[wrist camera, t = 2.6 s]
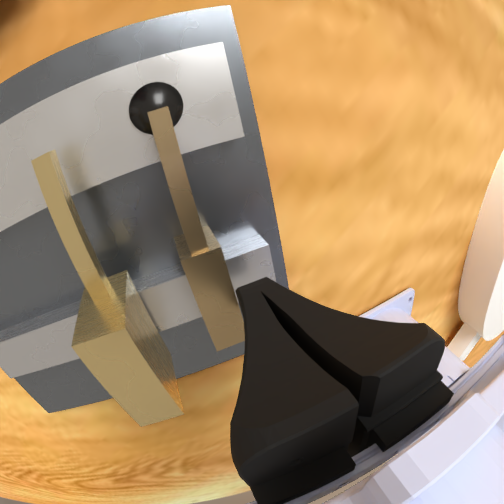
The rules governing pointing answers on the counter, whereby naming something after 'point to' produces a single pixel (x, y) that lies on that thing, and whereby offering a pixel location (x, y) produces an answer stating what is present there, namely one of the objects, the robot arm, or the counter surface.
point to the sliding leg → (111, 317)
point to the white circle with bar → (483, 272)
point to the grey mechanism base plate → (135, 196)
